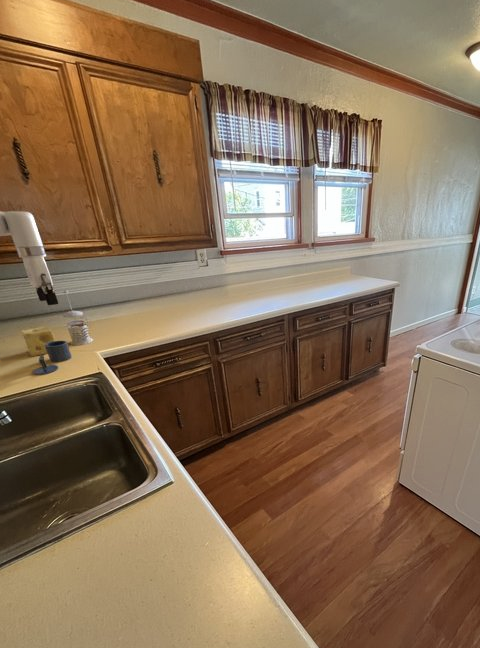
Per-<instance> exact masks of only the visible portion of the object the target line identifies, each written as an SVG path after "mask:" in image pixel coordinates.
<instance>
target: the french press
mask: <svg viewBox="0 0 480 648" xmlns="http://www.w3.org/2000/svg"><path fill="white" fill-rule="evenodd" d="M69 292H70V291H69V290H67V289H65V290H63V294H66V297H67V300H68V304H69V306H70V308H71V310H70V311H67V312H65V313H63V315H62V316H63V317H64V318H74V320H71V321H69V322H67V323H66V324H67V330H68V333H69V336H70V339H71V341H70V345H72V346H81V345H82V346H83V345H86V344H89V343H92V342H93V341H94V339H93V338H92V337H91V335H90V332H89V329H90V328H91V325H89V323H91V320H90V318H89V317H88V316H87V315H86V314H85V315H84V313H83V311H79V310H73V309H72V306H71V305H72V304H71V302H70V299H69V295H68V294H69ZM77 317H80V319H83V318H85V319H87V320H86V323H85V321H84V320H76V318H77Z"/></svg>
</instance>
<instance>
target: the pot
mask: <svg viewBox="0 0 480 648" xmlns="http://www.w3.org/2000/svg"><path fill="white" fill-rule="evenodd" d="M45 348H46V351H47V353H46V354H47V356H48V358H49V361H50V362H51V363H63V362H66V361H69V360H71V359H72V358H73V357H72V354H71V351H70V347H69V345H68V342H67V341H66V340H55V341H54V342H50V343H47V344H45Z"/></svg>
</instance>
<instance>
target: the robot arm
mask: <svg viewBox="0 0 480 648" xmlns="http://www.w3.org/2000/svg"><path fill="white" fill-rule="evenodd" d="M6 236H11V238H12V241H13V244H14V247H15V250H16V252H17V255H18V257H19V258H20V259H22V261H23V265H24V269H25V272H26V275H27V277H28V281H29V284H30V286H32V287H34V288H35V291H36V294H37V297H38V300H39V301H40V302H46V304H47V306H55V305H59V300H58V298H57V295H56V292H55V290H54V287H53V285H54V284H53V279H52V276H51V274H50V271H49V268H48V266H47V262H46V260H45V257H47V253H46V250H45V248H44V247H45V246H44V244H43V241H42V238H41V235H40V232H39V230H38V226H37V224H36V220H35V217H34V215H33V214H32V213H31V212H29V211H21V210H20V211H19V210H18V211H17V210H16V211H15V210H14V211H12V210H9V211H1V210H0V237H6Z"/></svg>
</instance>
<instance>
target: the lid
mask: <svg viewBox="0 0 480 648" xmlns="http://www.w3.org/2000/svg"><path fill="white" fill-rule="evenodd" d="M38 362H39V363H40V365H41V366H40V367H37V368H35V369H34V370H32V373H33V374H34V375H37V376H39V375H41V376H42V375H49V374H51V373H54V372H56V371H58V370H59V366H58V365H57V364H48V365H47V363H46V361H45V356H44V354H41V355H39V357H38Z"/></svg>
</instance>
